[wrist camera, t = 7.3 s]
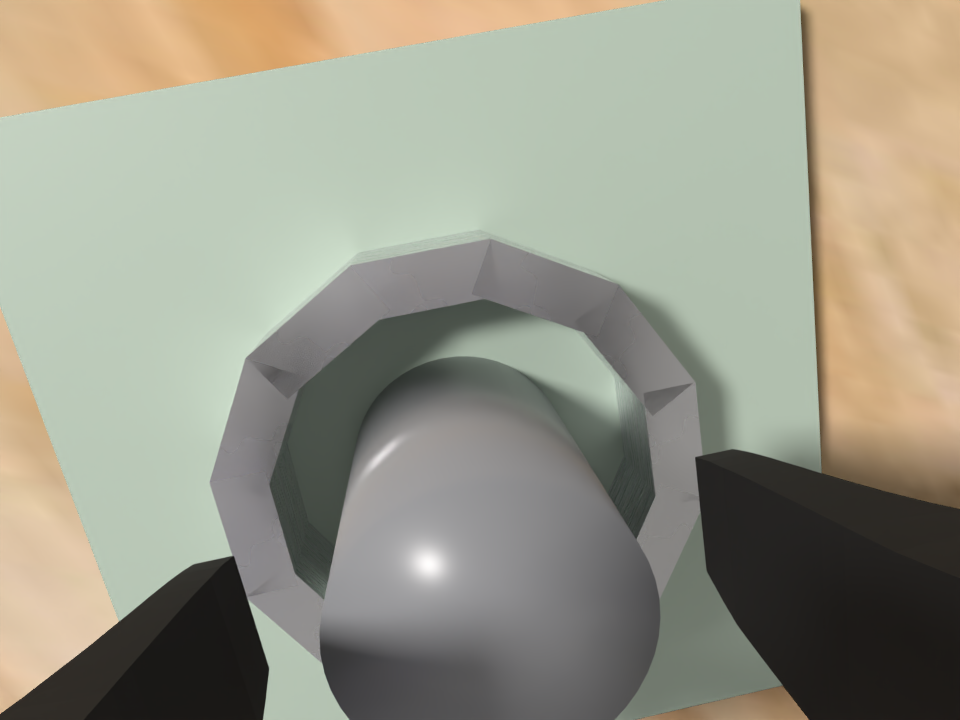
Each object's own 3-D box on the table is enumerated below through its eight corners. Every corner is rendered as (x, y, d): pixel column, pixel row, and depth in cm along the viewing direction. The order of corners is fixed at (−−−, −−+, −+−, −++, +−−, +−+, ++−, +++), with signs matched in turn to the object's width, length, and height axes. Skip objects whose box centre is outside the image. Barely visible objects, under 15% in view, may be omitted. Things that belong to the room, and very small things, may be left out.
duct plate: (808, 648, 18) (831, 674, 17) (206, 786, 18) (194, 821, 17) (772, -10, 14) (798, -24, 13) (-32, 132, 13) (-68, 129, 12)
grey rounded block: (547, 336, 14) (638, 443, 9) (580, 539, 16) (679, 751, 10) (333, 380, 14) (279, 520, 8) (384, 582, 15) (368, 824, 10)
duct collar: (683, 584, 16) (720, 639, 14) (303, 669, 16) (289, 737, 14) (640, 198, 14) (677, 202, 12) (189, 284, 13) (152, 303, 11)
